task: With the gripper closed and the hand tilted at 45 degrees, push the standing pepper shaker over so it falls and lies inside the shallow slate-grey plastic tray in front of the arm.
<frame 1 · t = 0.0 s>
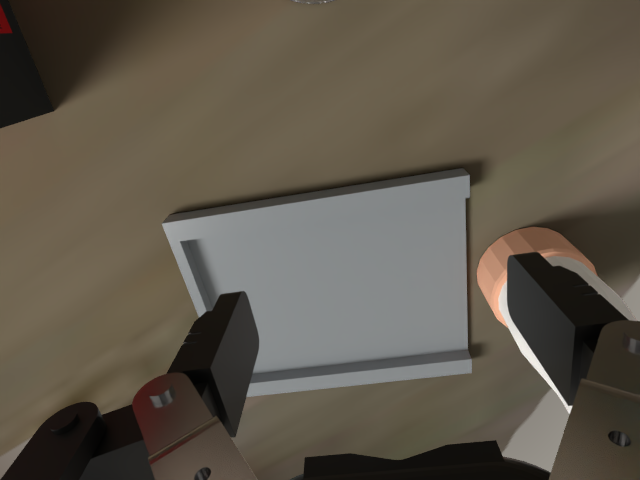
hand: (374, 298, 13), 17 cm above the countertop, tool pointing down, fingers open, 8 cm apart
pepper shaker: (523, 266, 32), on the countertop
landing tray: (331, 293, 34), on the countertop
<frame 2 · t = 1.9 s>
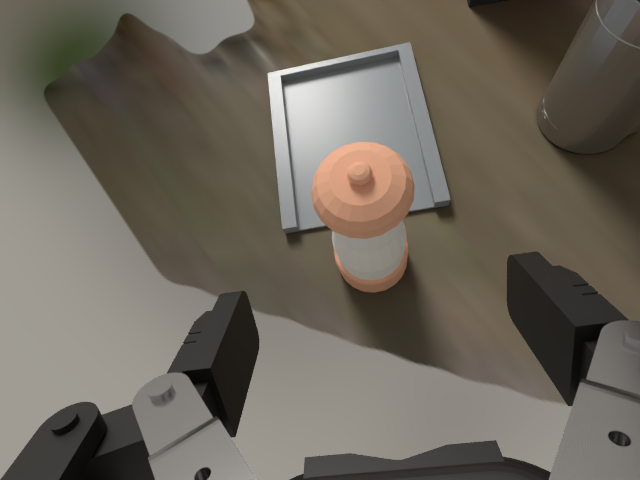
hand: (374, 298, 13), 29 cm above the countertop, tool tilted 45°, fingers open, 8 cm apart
pepper shaker: (372, 259, 43), on the countertop
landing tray: (351, 137, 49), on the countertop
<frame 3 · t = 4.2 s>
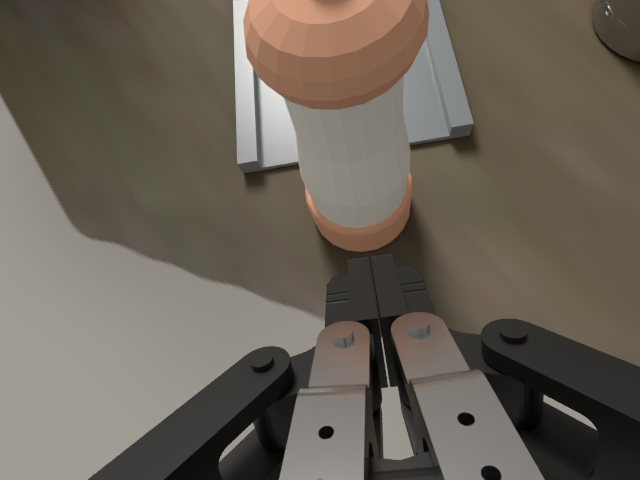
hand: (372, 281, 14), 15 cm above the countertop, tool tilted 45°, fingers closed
pepper shaker: (360, 207, 31), on the countertop
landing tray: (338, 51, 36), on the countertop
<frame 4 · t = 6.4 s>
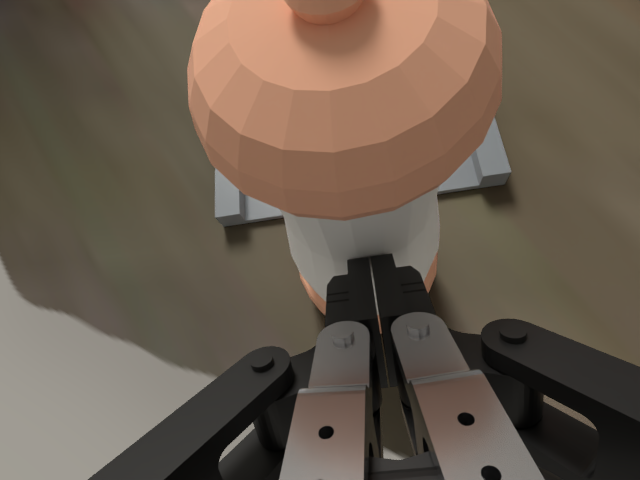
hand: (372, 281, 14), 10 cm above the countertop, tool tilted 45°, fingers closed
pepper shaker: (368, 274, 25), on the countertop, touching gripper
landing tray: (340, 75, 30), on the countertop
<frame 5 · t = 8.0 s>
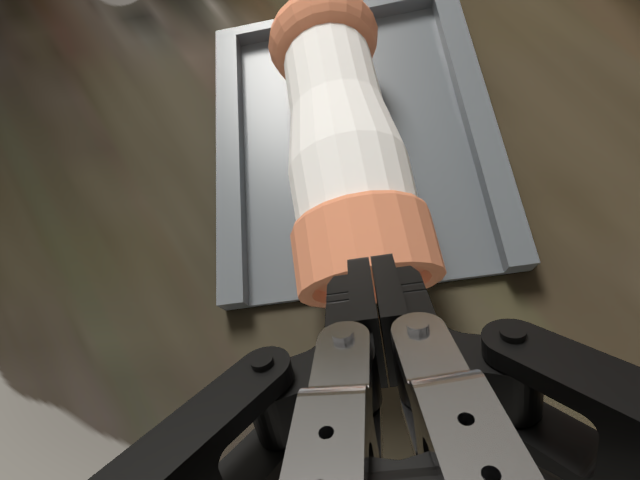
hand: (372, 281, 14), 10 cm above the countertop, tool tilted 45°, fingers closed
pepper shaker: (372, 293, 20), point 4 cm above the countertop, touching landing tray
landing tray: (350, 138, 28), on the countertop
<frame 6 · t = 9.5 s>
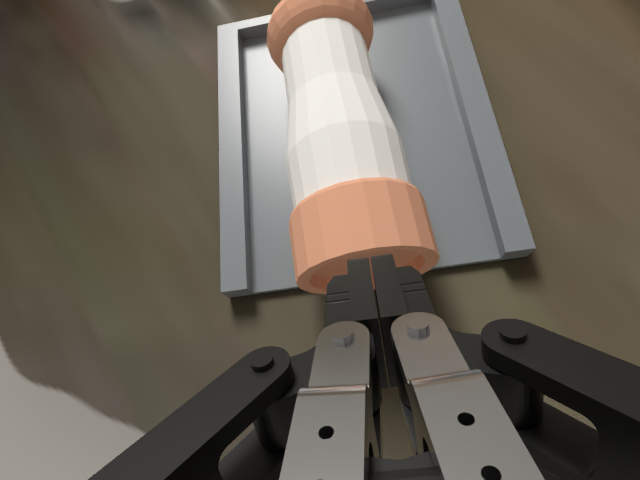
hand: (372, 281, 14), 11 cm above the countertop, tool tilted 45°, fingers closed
pepper shaker: (368, 278, 21), point 4 cm above the countertop, touching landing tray
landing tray: (350, 130, 29), on the countertop
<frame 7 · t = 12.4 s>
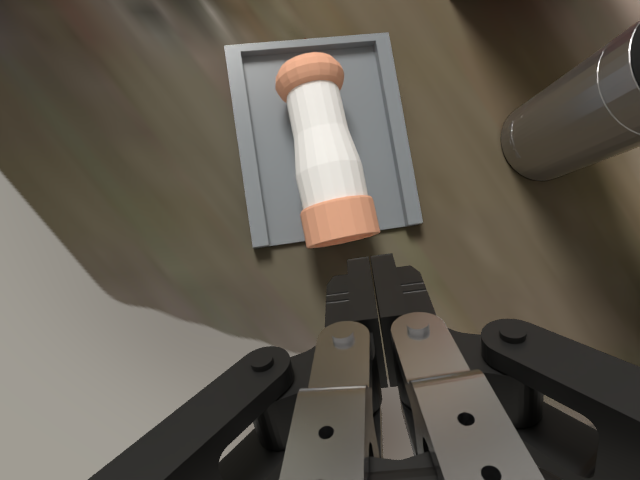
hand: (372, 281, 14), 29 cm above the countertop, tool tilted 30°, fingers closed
pepper shaker: (344, 242, 40), point 4 cm above the countertop, touching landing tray
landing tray: (322, 139, 45), on the countertop
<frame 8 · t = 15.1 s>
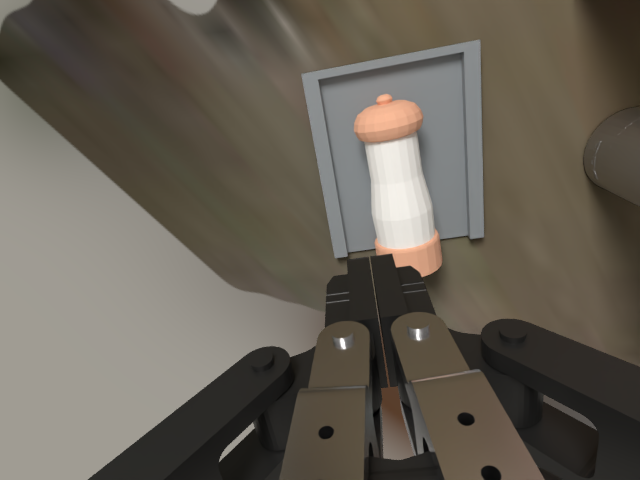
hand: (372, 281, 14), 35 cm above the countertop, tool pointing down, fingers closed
pepper shaker: (410, 265, 48), point 4 cm above the countertop, touching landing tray
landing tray: (397, 158, 47), on the countertop
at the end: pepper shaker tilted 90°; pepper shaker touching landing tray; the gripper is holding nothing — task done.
